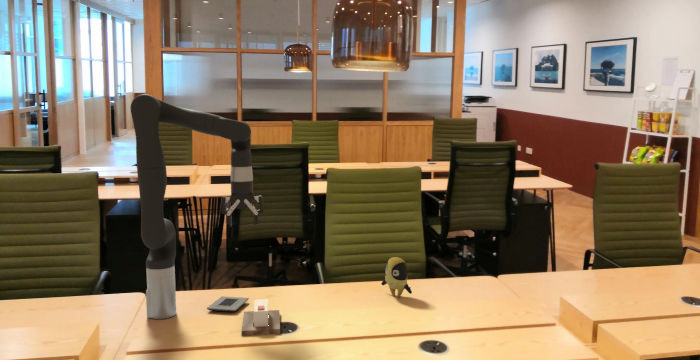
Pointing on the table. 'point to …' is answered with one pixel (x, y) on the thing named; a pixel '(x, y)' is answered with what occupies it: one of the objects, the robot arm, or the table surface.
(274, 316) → the brown wooden slotted board
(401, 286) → the figurine
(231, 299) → the electrical outlet
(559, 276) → the table surface
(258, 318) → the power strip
